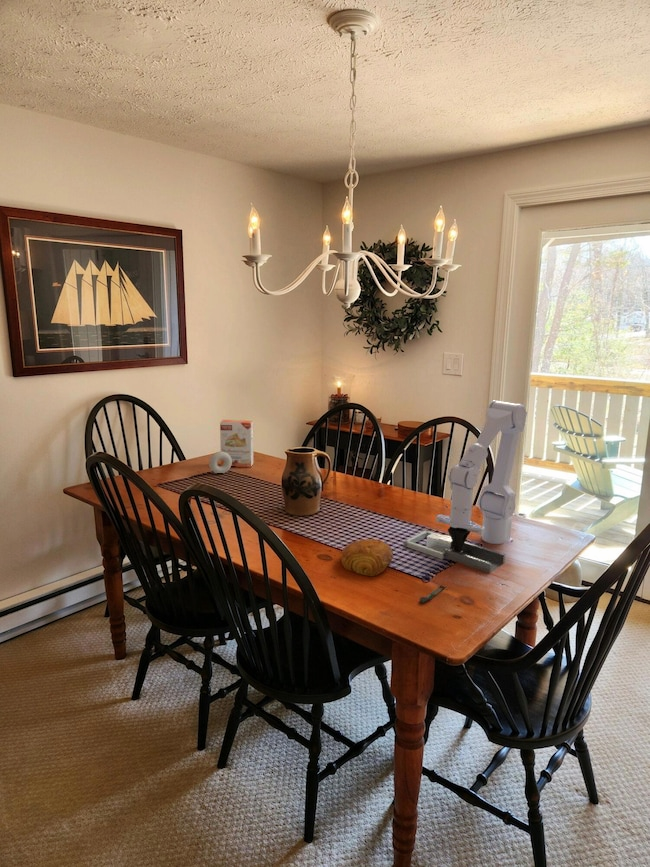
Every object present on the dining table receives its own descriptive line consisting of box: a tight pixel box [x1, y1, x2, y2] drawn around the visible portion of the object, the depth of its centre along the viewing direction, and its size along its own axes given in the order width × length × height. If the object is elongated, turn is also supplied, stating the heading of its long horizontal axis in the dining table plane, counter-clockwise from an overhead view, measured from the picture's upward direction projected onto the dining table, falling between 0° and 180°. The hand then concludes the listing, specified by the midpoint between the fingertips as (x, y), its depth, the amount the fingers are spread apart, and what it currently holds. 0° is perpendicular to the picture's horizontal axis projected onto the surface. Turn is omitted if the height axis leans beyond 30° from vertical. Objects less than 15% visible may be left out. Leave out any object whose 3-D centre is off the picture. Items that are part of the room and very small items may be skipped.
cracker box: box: [219, 419, 254, 468], centre depth 254 cm, size 14×6×21 cm, turn 86°
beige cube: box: [425, 532, 444, 551], centre depth 168 cm, size 4×4×4 cm
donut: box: [208, 450, 232, 474], centre depth 242 cm, size 10×4×10 cm, turn 118°
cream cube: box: [438, 534, 454, 554], centre depth 166 cm, size 4×4×4 cm
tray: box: [403, 530, 445, 560], centre depth 169 cm, size 12×13×2 cm
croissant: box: [340, 538, 394, 577], centre depth 159 cm, size 14×16×8 cm
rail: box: [444, 541, 506, 574], centre depth 160 cm, size 9×14×4 cm, turn 47°
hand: (458, 551), depth 164 cm, fingers closed
